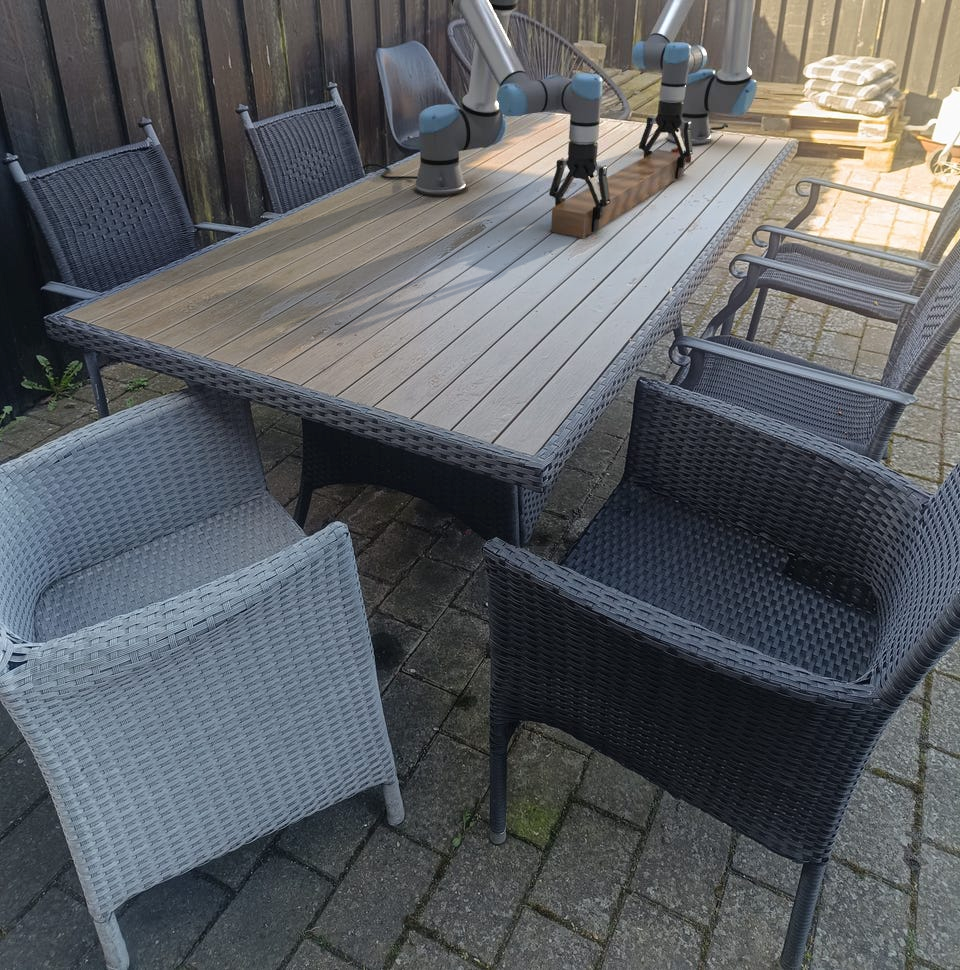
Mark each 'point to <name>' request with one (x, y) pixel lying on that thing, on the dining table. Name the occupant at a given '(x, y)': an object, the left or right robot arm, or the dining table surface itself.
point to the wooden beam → (616, 194)
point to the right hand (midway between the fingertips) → (662, 175)
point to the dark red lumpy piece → (688, 158)
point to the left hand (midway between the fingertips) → (577, 226)
